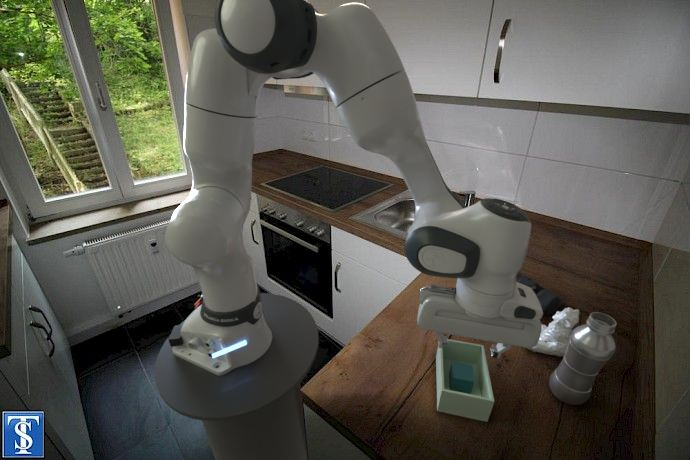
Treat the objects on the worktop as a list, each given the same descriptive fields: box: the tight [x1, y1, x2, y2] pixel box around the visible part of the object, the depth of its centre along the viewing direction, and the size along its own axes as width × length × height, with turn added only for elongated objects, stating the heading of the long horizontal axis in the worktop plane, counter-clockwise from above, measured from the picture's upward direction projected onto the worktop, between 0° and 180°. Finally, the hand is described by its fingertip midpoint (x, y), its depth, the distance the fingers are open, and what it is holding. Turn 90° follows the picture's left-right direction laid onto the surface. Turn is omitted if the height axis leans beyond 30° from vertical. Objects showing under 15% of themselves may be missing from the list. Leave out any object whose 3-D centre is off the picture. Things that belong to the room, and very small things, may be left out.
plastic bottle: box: [548, 311, 617, 406], centre depth 58 cm, size 6×7×20 cm
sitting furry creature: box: [526, 306, 580, 358], centre depth 71 cm, size 10×9×12 cm
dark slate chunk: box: [516, 272, 565, 317], centre depth 91 cm, size 15×22×5 cm
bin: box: [435, 338, 496, 423], centre depth 63 cm, size 6×13×9 cm
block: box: [449, 361, 474, 394], centre depth 63 cm, size 4×4×4 cm
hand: (467, 350), depth 60 cm, fingers open, 8 cm apart
